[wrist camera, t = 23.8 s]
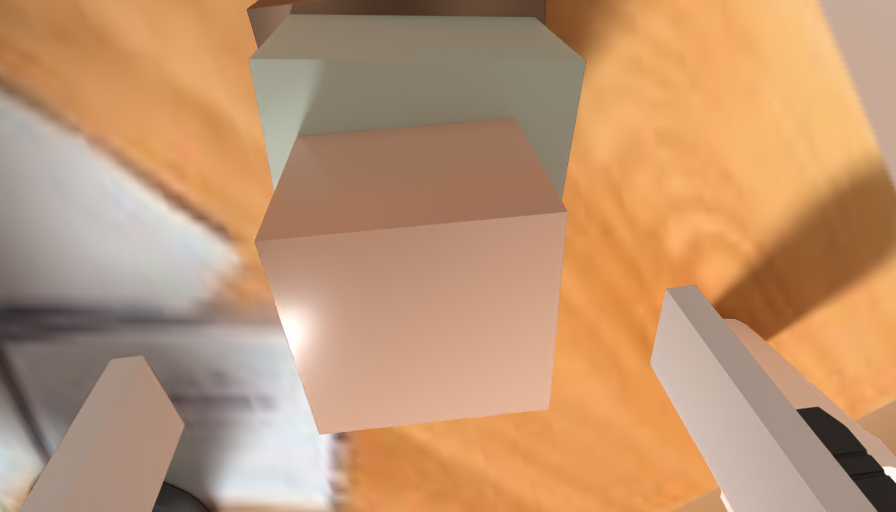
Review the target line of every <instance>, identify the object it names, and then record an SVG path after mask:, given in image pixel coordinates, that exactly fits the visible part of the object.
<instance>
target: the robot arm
mask: <svg viewBox="0 0 896 512" xmlns="http://www.w3.org/2000/svg"><path fill="white" fill-rule="evenodd" d="M650 365H651V367H652V368H653V370H654V372H655V374H656V375H657V377H658V379H659V381H660V382H661V384H662V386H663V388H664V390H665V391H666V393H667V395H668V397H669V398H670V400H671V402H672V404H673V405H674V407H675V409H676V411H677V412H678V414H679V416H680V418H681V419H682V421H683V423H684V425H685V427H686V428H687V430H688V432H689V434H690V435H691V437H692V439H693V441H694V442H695V444H696V446H697V448H698V449H699V451H700V453H701V455H702V456H703V458H704V460H705V462H706V464H707V465H708V467H709V469H710V471H711V472H712V474H713V476H714V478H715V479H716V481H717V483H718V485H719V486H720V488H721V490H722V492H723V494H724V495H725V497H726V499H727V501H728V502H729V504H730V506H731V508H732V509H733V511H734V512H896V483H895V482H894V480H893V479H892V478H891V477H890V476H889V475H886V474H885V472H884V469H883V468H882V467H881V466H880V464H879V463H878V462H877V461H876V460H875V459H874V457H873V456H872V455H869V454H868V453H867V449H866V448H865V447H864V446H863V445H862V444H861V443H860V441H859V440H858V439H857V438H856V437H855V436H854V435H853V433H852V432H851V431H850V430H849V429H848V428H847V427H846V426H845V425H844V424H842V423H841V422H840V421H838V420H837V419H835V418H834V417H832V416H831V415H830V414H828V413H827V412H825V411H824V410H823V409H821V408H820V407H810V408H803V409H795V408H794V407H793V406H792V405H791V403H790V402H789V401H788V400H787V398H786V397H785V396H784V395H783V393H782V392H781V391H780V390H779V388H778V387H777V386H776V385H775V383H774V382H773V381H772V380H771V378H770V377H769V376H768V375H767V373H766V372H765V371H764V370H763V368H762V367H761V366H760V365H759V363H758V362H757V361H756V360H755V358H754V357H753V356H752V355H751V353H750V352H749V351H748V350H747V348H746V347H745V346H744V345H743V344H742V342H741V341H740V340H739V339H738V337H737V336H736V335H735V334H734V332H733V331H732V330H731V329H730V327H729V326H728V325H727V324H726V322H725V321H724V320H723V319H722V317H721V316H720V315H719V314H718V312H717V311H716V310H715V309H714V307H713V306H712V305H711V304H710V302H709V301H708V300H707V299H706V297H705V296H704V295H703V294H702V292H701V291H700V290H699V289H698V287H697V286H696V285H693V286H686V287H678V288H670V289H666V292H665V297H664V301H663V306H662V311H661V315H660V320H659V325H658V329H657V334H656V339H655V343H654V348H653V353H652V357H651V362H650ZM184 427H185V424H184V422H183V421H182V419H181V417H180V416H179V414H178V413H177V411H176V409H175V408H174V406H173V404H172V403H171V401H170V399H169V398H168V396H167V394H166V393H165V391H164V390H163V388H162V386H161V385H160V383H159V381H158V380H157V378H156V376H155V375H154V373H153V372H152V370H151V368H150V367H149V365H148V363H147V362H146V360H145V358H144V357H143V355H140V356H132V357H124V358H116V359H111V360H110V361H109V363H108V365H107V366H106V368H105V370H104V371H103V373H102V375H101V376H100V378H99V380H98V381H97V383H96V385H95V386H94V388H93V389H92V391H91V393H90V394H89V396H88V398H87V399H86V401H85V403H84V404H83V406H82V408H81V409H80V411H79V413H78V414H77V416H76V418H75V419H74V421H73V422H72V424H71V426H70V427H69V429H68V431H67V432H66V434H65V436H64V437H63V439H62V441H61V442H60V444H59V446H58V447H57V449H56V451H55V452H54V454H53V455H52V457H51V459H50V460H49V462H48V464H47V465H46V467H45V469H44V470H43V472H42V474H41V475H40V477H39V479H38V480H37V482H36V484H35V485H34V487H33V488H32V490H31V492H30V493H29V495H28V497H27V498H26V500H25V502H24V503H23V505H22V507H21V508H20V510H19V512H208V511H207V509H206V508H205V507H204V506H203V505H202V504H201V503H200V502H199V501H197V500H196V499H195V498H193V497H192V496H190V495H188V494H187V493H185V492H183V491H181V490H179V489H177V488H174V487H172V486H169V485H166V484H163V481H164V478H165V476H166V473H167V471H168V468H169V465H170V463H171V460H172V458H173V455H174V453H175V450H176V447H177V445H178V442H179V440H180V437H181V435H182V432H183V429H184Z"/></svg>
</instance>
